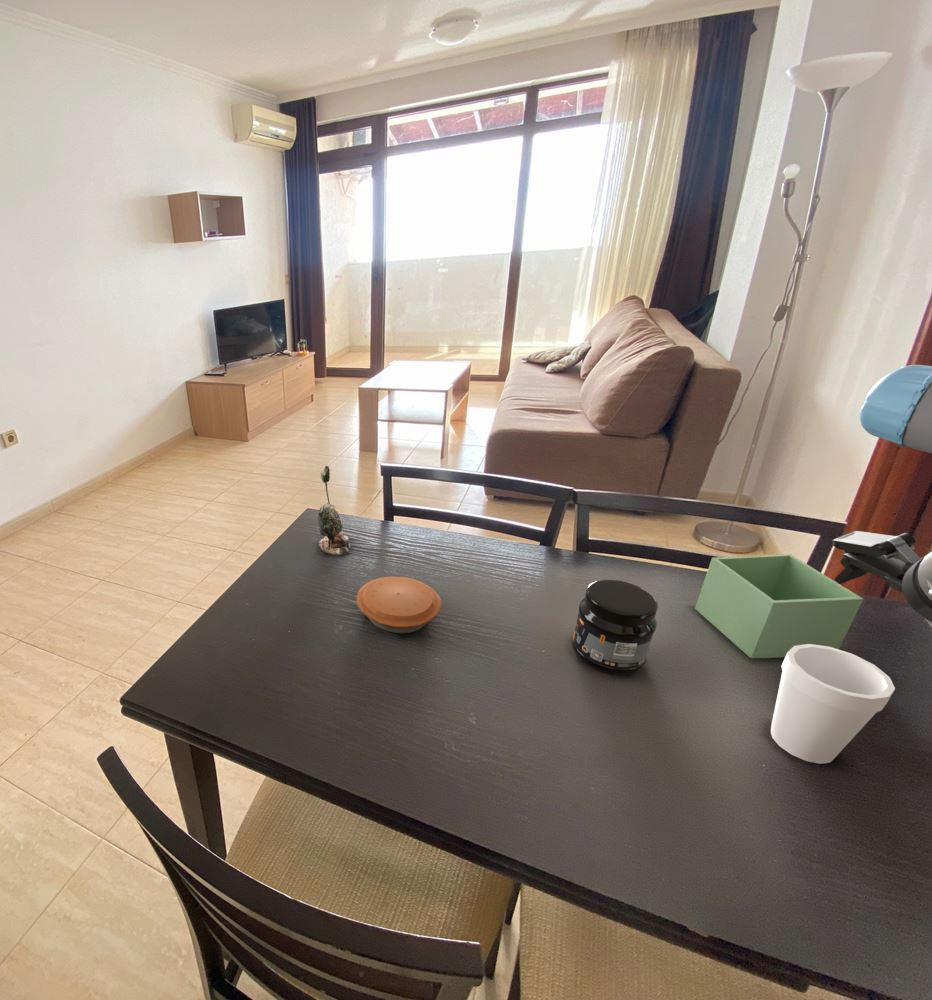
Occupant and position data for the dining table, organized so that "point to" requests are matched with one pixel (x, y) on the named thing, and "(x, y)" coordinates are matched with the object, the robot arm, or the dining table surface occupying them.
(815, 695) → the foam cup
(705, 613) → the open green box
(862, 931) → the dining table surface
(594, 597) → the supplement container
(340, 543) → the plant with pod
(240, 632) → the dining table surface
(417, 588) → the pie
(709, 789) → the dining table surface
